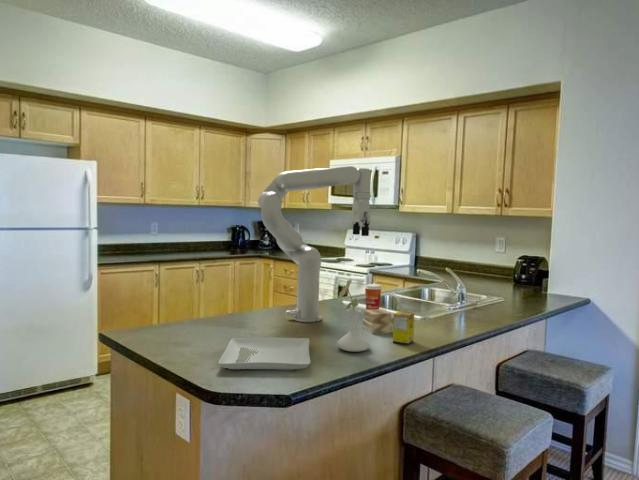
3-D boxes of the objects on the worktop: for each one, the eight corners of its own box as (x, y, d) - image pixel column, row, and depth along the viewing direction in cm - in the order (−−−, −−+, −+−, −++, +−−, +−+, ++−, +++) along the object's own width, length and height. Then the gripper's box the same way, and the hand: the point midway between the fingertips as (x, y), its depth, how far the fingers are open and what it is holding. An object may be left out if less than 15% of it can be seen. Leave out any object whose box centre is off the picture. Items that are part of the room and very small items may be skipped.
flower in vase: (349, 342, 172) (351, 274, 170) (376, 349, 165) (378, 278, 163) (327, 350, 162) (328, 278, 160) (354, 358, 155) (356, 282, 153)
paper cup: (361, 316, 214) (362, 285, 213) (367, 312, 221) (368, 283, 220) (377, 318, 211) (378, 287, 210) (383, 315, 218) (384, 284, 217)
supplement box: (413, 341, 175) (414, 312, 174) (408, 345, 170) (409, 315, 169) (398, 339, 178) (399, 310, 177) (392, 343, 173) (393, 313, 172)
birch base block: (371, 334, 185) (371, 324, 185) (362, 329, 193) (362, 319, 193) (392, 333, 188) (392, 323, 187) (382, 327, 196) (382, 318, 196)
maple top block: (372, 324, 185) (372, 314, 185) (364, 319, 193) (364, 309, 192) (391, 323, 188) (391, 313, 187) (382, 318, 195) (382, 308, 195)
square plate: (309, 347, 166) (309, 336, 166) (310, 375, 139) (310, 362, 139) (231, 346, 165) (231, 335, 165) (217, 374, 138) (217, 361, 138)
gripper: (346, 196, 217) (345, 233, 218) (361, 196, 200) (360, 236, 202) (361, 197, 219) (360, 233, 220) (377, 196, 203) (376, 236, 204)
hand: (360, 235), depth 211 cm, fingers open, 9 cm apart
